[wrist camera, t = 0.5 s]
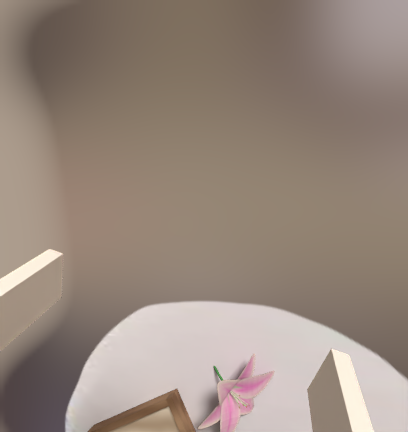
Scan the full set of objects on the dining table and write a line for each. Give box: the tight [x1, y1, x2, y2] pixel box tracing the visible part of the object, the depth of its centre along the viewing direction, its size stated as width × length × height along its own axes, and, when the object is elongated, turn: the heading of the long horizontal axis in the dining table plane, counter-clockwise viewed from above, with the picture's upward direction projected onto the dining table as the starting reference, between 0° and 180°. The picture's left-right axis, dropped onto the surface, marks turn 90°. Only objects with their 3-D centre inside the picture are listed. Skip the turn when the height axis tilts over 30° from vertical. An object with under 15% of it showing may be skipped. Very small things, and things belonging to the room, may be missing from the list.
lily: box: [198, 354, 275, 432], centre depth 38 cm, size 12×12×10 cm
